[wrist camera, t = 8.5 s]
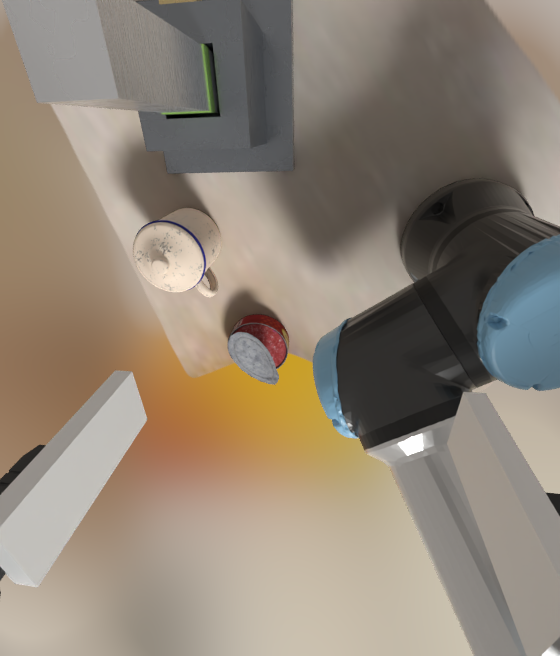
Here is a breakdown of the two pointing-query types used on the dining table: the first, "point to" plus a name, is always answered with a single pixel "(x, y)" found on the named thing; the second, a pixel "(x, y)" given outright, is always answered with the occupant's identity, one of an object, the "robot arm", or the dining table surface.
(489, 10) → the dining table surface
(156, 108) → the post
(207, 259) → the teacup with lid
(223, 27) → the stand
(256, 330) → the canned food
